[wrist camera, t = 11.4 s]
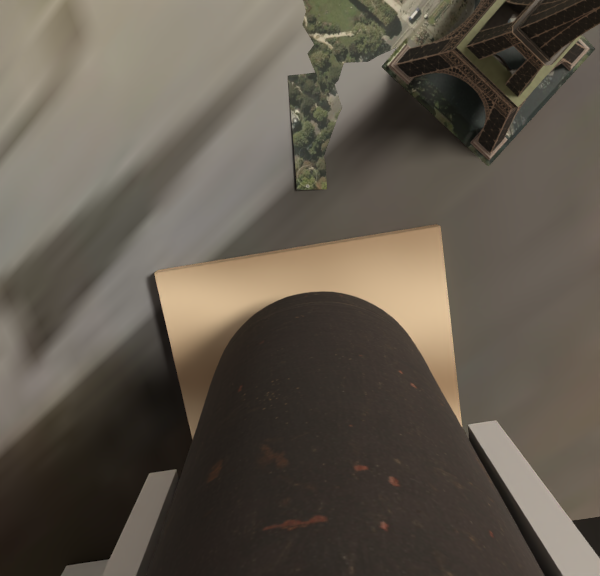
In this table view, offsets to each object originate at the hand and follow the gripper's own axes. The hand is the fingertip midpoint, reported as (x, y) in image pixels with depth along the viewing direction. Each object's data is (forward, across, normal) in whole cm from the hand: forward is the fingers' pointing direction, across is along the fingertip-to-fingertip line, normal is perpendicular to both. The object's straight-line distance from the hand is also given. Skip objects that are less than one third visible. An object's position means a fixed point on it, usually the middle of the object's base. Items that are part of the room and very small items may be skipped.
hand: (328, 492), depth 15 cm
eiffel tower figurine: (+9, +8, +12) cm, 17 cm away
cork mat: (+8, 0, 0) cm, 8 cm away
